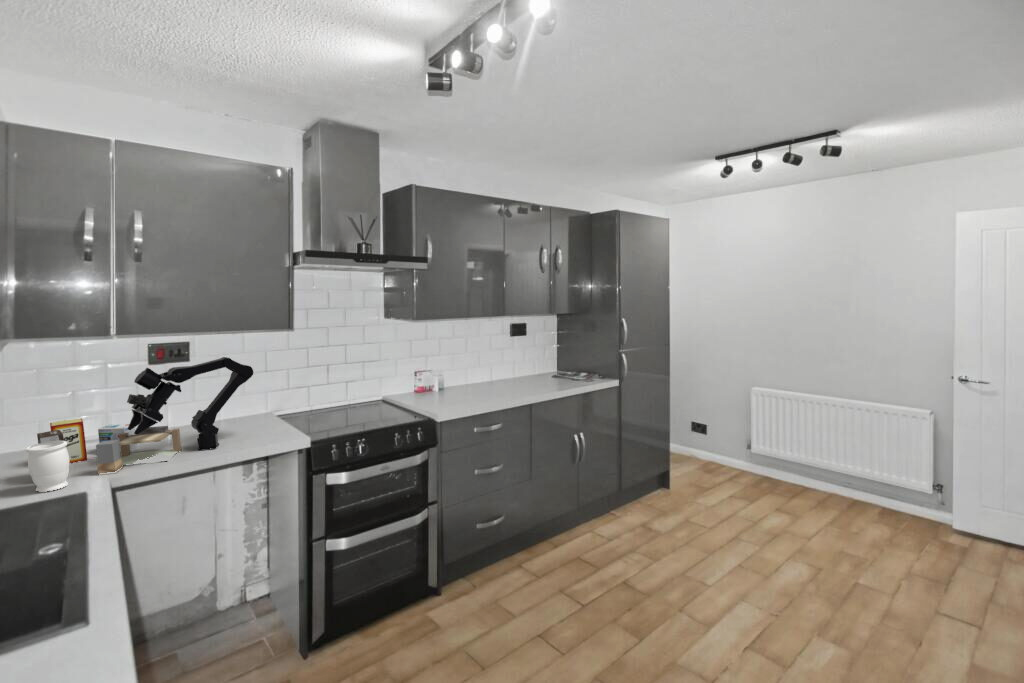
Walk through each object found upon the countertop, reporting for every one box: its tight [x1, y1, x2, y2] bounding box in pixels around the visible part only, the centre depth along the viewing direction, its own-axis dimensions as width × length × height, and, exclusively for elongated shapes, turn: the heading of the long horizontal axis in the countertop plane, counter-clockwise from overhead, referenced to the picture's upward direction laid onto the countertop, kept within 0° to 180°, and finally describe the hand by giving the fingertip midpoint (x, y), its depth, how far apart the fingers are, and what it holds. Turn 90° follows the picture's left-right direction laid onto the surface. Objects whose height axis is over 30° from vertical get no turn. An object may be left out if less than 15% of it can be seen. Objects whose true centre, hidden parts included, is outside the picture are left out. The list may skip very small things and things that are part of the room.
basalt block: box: [95, 440, 122, 464], centre depth 189 cm, size 5×5×7 cm
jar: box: [25, 441, 70, 493], centre depth 175 cm, size 11×10×15 cm
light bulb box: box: [97, 423, 138, 453], centre depth 213 cm, size 11×7×11 cm, turn 92°
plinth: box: [96, 457, 123, 475], centre depth 190 cm, size 5×5×4 cm
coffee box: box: [36, 430, 64, 444], centre depth 185 cm, size 9×6×16 cm
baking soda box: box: [49, 417, 88, 464], centre depth 202 cm, size 10×6×16 cm
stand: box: [120, 428, 182, 465], centre depth 204 cm, size 20×15×9 cm
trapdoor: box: [119, 425, 172, 445], centre depth 205 cm, size 14×14×3 cm
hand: (131, 431), depth 196 cm, fingers open, 9 cm apart
